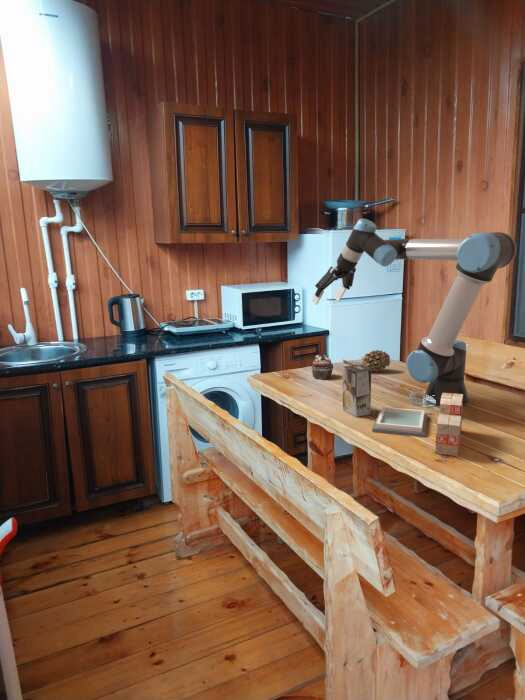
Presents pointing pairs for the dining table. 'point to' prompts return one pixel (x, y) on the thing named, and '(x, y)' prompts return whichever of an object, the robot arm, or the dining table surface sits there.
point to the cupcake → (322, 367)
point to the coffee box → (357, 390)
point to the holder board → (401, 421)
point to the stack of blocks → (449, 424)
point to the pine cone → (373, 361)
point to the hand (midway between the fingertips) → (325, 301)
